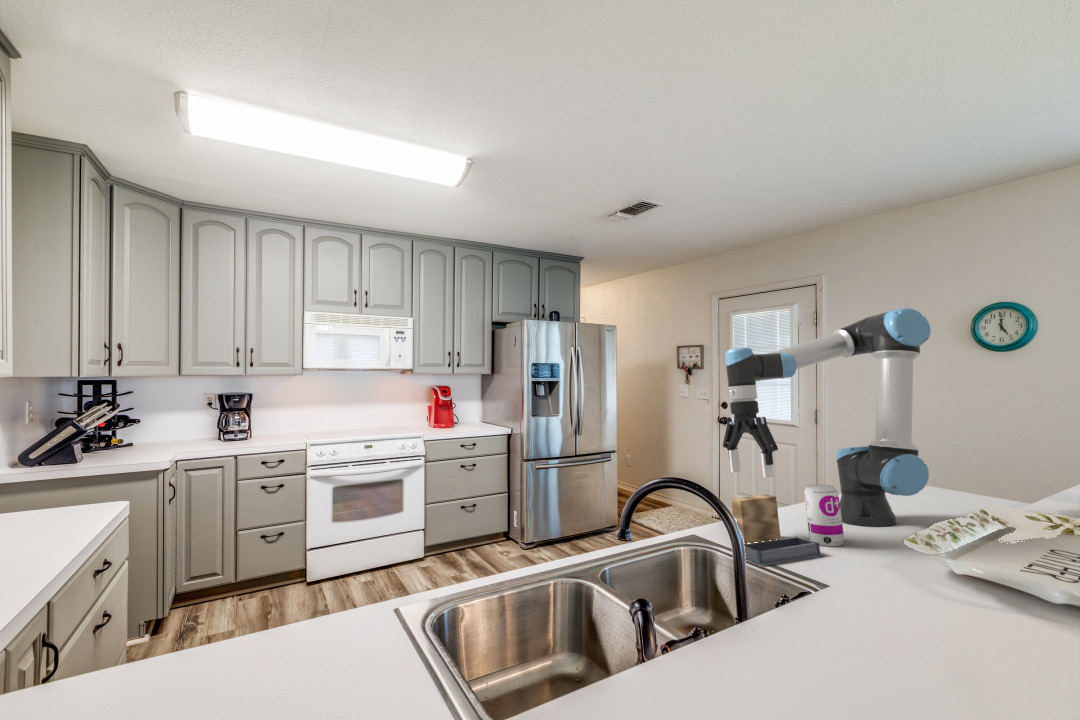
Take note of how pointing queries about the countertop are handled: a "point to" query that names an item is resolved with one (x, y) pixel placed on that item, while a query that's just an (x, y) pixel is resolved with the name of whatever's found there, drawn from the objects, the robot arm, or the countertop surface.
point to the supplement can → (824, 515)
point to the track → (782, 551)
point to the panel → (757, 518)
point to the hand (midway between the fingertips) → (751, 474)
